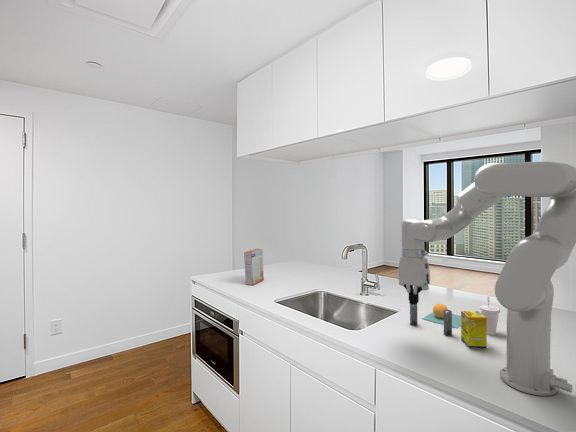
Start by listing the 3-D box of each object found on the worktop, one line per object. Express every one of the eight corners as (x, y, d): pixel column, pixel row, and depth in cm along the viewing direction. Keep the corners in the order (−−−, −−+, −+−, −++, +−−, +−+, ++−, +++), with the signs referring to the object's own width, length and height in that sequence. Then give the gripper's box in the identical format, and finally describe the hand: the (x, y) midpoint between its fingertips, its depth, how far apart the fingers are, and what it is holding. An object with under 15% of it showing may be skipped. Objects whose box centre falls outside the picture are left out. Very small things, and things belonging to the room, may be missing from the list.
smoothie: (475, 330, 120) (475, 294, 120) (491, 329, 121) (491, 293, 120) (487, 337, 114) (487, 299, 113) (504, 336, 114) (504, 298, 114)
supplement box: (460, 340, 112) (460, 310, 111) (478, 340, 111) (478, 310, 111) (468, 348, 106) (468, 316, 106) (487, 348, 106) (487, 317, 105)
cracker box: (256, 279, 208) (255, 248, 207) (264, 280, 206) (263, 248, 205) (244, 284, 196) (243, 251, 195) (253, 285, 193) (251, 252, 192)
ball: (448, 304, 130) (445, 319, 128) (451, 307, 134) (448, 321, 133) (433, 300, 134) (430, 314, 132) (436, 303, 138) (433, 316, 137)
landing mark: (470, 318, 131) (470, 318, 131) (457, 328, 122) (457, 327, 122) (436, 310, 142) (436, 310, 142) (422, 318, 133) (422, 318, 133)
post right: (453, 334, 117) (453, 310, 117) (450, 336, 115) (450, 312, 115) (445, 332, 119) (445, 309, 119) (442, 334, 117) (442, 311, 117)
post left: (418, 324, 127) (418, 302, 127) (415, 326, 125) (415, 304, 125) (412, 322, 129) (411, 301, 129) (408, 324, 127) (408, 302, 127)
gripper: (438, 254, 109) (439, 306, 110) (399, 250, 120) (399, 296, 121) (429, 257, 104) (429, 311, 105) (388, 252, 115) (389, 301, 116)
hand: (413, 303), depth 113 cm, fingers closed
